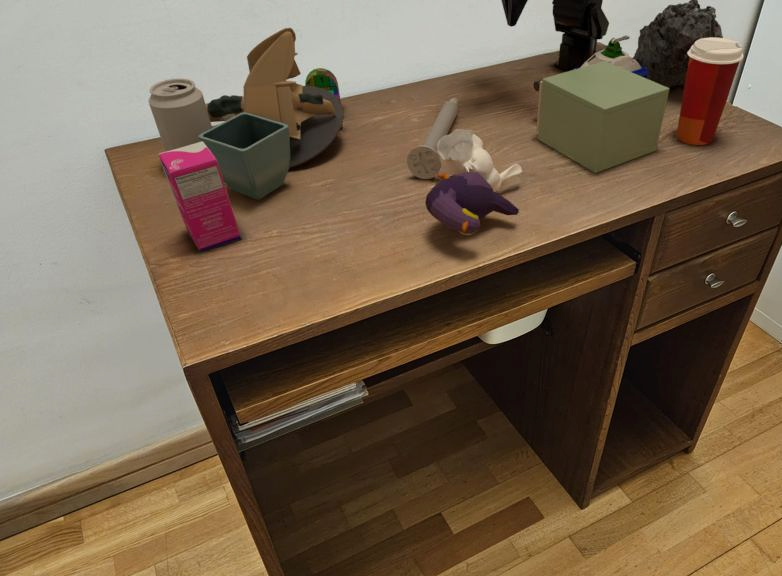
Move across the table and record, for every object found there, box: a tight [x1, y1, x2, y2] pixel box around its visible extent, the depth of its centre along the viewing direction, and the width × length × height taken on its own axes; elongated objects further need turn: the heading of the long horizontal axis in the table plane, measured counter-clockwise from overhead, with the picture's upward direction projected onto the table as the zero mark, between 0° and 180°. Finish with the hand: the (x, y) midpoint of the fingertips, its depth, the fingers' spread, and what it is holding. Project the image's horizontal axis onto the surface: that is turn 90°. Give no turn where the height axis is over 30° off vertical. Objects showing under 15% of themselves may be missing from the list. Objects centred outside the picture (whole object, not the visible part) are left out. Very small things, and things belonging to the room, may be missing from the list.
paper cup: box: [676, 37, 744, 146], centre depth 98 cm, size 8×8×14 cm
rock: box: [632, 0, 724, 88], centre depth 112 cm, size 16×14×15 cm
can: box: [147, 77, 213, 152], centre depth 95 cm, size 8×8×12 cm
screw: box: [406, 97, 459, 180], centre depth 102 cm, size 5×26×5 cm
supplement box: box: [157, 141, 242, 253], centre depth 80 cm, size 6×6×12 cm
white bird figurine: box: [437, 128, 523, 193], centre depth 89 cm, size 12×8×10 cm
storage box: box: [537, 61, 670, 174], centre depth 98 cm, size 14×13×10 cm
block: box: [304, 67, 344, 129], centre depth 106 cm, size 12×8×7 cm
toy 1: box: [205, 27, 344, 169], centre depth 95 cm, size 18×20×15 cm
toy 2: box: [424, 172, 520, 236], centre depth 82 cm, size 11×12×7 cm
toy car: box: [573, 35, 649, 79], centre depth 111 cm, size 9×12×10 cm
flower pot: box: [198, 112, 290, 200], centre depth 90 cm, size 9×9×9 cm
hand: (511, 25), depth 107 cm, fingers closed
